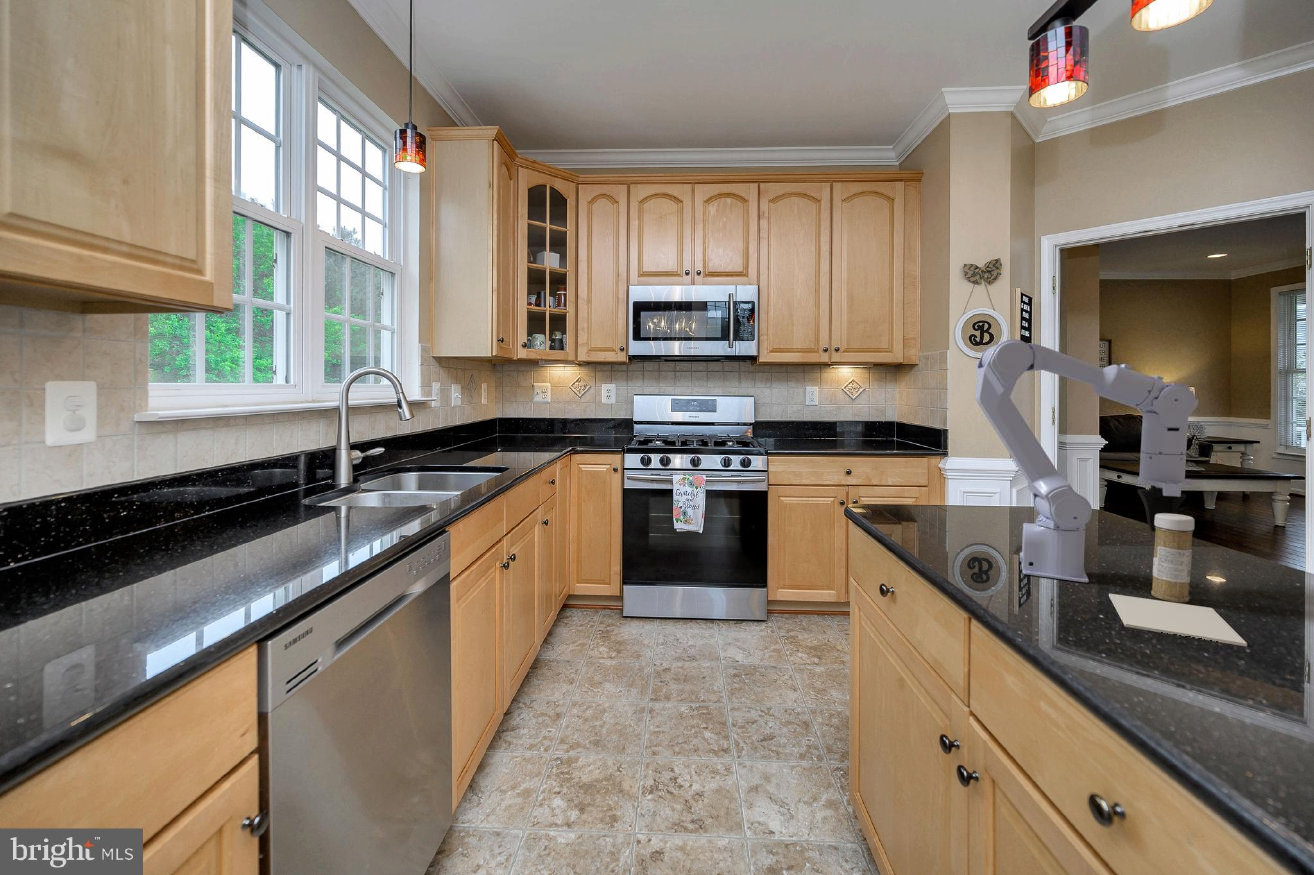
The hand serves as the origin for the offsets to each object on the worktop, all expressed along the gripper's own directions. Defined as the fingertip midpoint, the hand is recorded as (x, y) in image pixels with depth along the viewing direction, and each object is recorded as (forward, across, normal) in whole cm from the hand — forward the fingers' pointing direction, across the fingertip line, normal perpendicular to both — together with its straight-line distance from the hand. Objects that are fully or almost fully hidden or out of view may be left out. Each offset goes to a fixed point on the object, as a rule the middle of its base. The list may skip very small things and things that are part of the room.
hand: (1158, 531), depth 94 cm
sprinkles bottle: (+9, -9, 0) cm, 13 cm away
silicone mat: (+9, -20, +2) cm, 22 cm away
